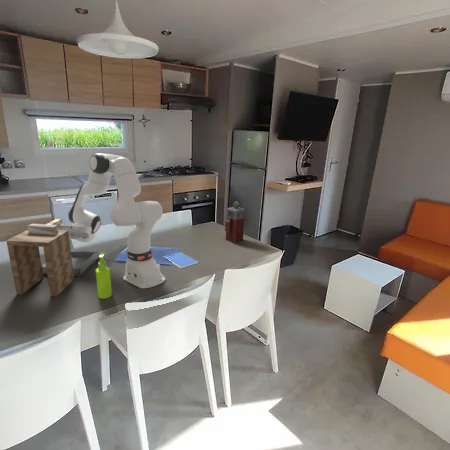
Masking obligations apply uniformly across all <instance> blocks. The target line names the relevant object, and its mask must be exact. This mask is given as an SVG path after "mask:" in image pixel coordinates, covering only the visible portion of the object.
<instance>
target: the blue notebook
mask: <svg viewBox="0 0 450 450" xmlns="http://www.w3.org/2000/svg"><path fill="white" fill-rule="evenodd" d="M173 254H174V255H173ZM169 255H171V256H169ZM172 255H173V256H172ZM163 257H165V258H166V259H168V260H169V262H170V261H171V262H172V264H173V265H174V266H176V267H178V268H179V269H184V268H187V267H188V268H189V267H191V266H194V265H197V264H198V263H199V261H198V260H195V259H194V258H192V257H190V256H189V255H187V254H185V253H183V252H181V251H178V252H175V253H170V254H168V255H164V256H163ZM165 258H164V259H165ZM166 259H165V260H166ZM168 260H167V261H168ZM171 262H170V263H171Z"/></svg>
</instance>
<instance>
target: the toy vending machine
mask: <svg viewBox="0 0 450 450" xmlns="http://www.w3.org/2000/svg"><path fill="white" fill-rule="evenodd" d="M245 214H246V209H245V208H242V207H240V202H239V201H234V202H233V203H232V206H231V207H230V206H229V207H227V208H226V216H225V220H224V221H225V222H224V223H225V225H224V232H225V241H228V242H230V243H232V244H238V243H241V242H243V241H244V233H245V232H244V230H245V228H244V227H245V216H246V215H245Z"/></svg>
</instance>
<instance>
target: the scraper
mask: <svg viewBox="0 0 450 450" xmlns="http://www.w3.org/2000/svg"><path fill="white" fill-rule="evenodd" d="M59 225H63V219H62V218H56V219H54V220H52V221H51V220H50V221H49V222H48V223H46V224H44V223H43V224H42V223H31V224H28V225H27V230H28V232H29V233H38V234H56V233H58V226H59Z"/></svg>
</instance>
